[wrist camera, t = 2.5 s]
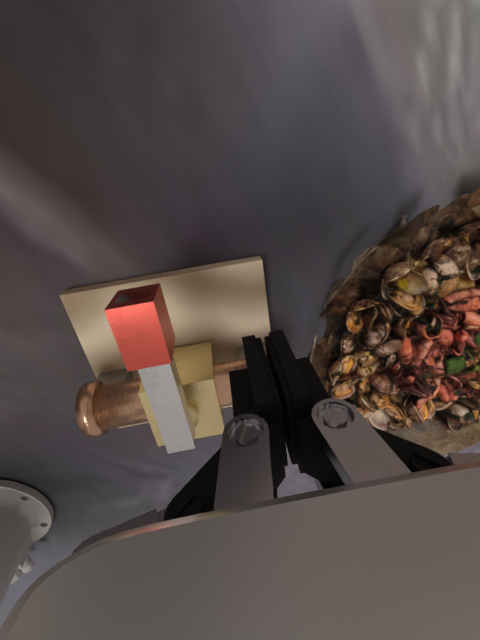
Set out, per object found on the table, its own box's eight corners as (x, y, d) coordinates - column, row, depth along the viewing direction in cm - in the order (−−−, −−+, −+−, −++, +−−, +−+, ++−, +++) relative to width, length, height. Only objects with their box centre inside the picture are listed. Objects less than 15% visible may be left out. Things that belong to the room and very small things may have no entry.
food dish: (368, 131, 26) (432, 112, 19) (623, 228, 34) (736, 240, 27) (254, 438, 39) (268, 494, 32) (458, 458, 47) (506, 507, 40)
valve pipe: (275, 376, 33) (294, 426, 26) (109, 408, 32) (86, 467, 26) (270, 327, 30) (289, 370, 24) (88, 361, 30) (57, 415, 23)
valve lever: (201, 426, 25) (201, 462, 22) (169, 432, 25) (165, 470, 22) (160, 280, 19) (152, 301, 16) (119, 287, 19) (104, 310, 16)
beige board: (275, 389, 36) (278, 397, 34) (121, 418, 35) (118, 428, 34) (259, 255, 28) (262, 259, 27) (66, 289, 28) (59, 295, 26)
